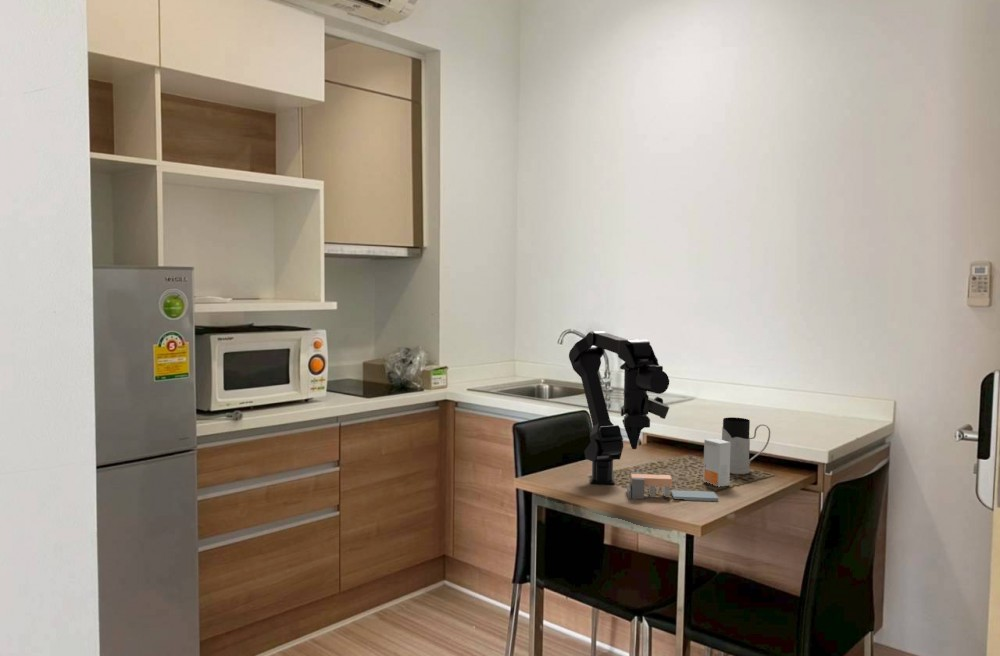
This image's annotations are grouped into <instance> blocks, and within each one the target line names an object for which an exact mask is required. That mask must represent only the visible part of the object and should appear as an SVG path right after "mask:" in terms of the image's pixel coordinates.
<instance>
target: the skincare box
mask: <svg viewBox="0 0 1000 656" xmlns="http://www.w3.org/2000/svg"><path fill="white" fill-rule="evenodd" d="M703 446H704V447H703V471H702V473H703V474H702V475H703V476H702V477H703V479H702V482H703V483H706V482H707V483H706V484H709V483H710V485H712V484H713V486H715V487H717V486H718V488H721V487H720V486H722V487H727V486H730V476H731V473H730V446H731V442H728V441H724V440H722V439H719V438H706V439H704V442H703Z"/></svg>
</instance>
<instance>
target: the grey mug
mask: <svg viewBox="0 0 1000 656" xmlns="http://www.w3.org/2000/svg"><path fill="white" fill-rule="evenodd" d="M750 423H751V420H750V419H749V418H744V417H735V416H734V417H724V418H723V419H722V427H721V440H724V441H728V442H731V446H730V474H733V475H735V474H736V475H745V474H749V473H751V468H750V465H751V462H752V461H753V460H754V459H755V458H756V457H758V456H760V454H761V453H763V452H764V451H765V450H766V448H767V447H768V444H769V443H770V438H771V429H770V427H769V426H768V425H767V424H764V423H763V424H758V425H756V427H755V429H754V435H753V436H752V437H750V428H751V427H750V426H751V424H750ZM762 426H764V427H766V428H767V429H768V437H767V441H766V443H765V445H764V446H763V448H762V449H761V450H760V451H759V452H758V453H756V454H754V456H752V457H751V458H750V444H751V443H750V442H751V440H754V439H755V438H756V436H757V430H758V428H760V427H762Z"/></svg>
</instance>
